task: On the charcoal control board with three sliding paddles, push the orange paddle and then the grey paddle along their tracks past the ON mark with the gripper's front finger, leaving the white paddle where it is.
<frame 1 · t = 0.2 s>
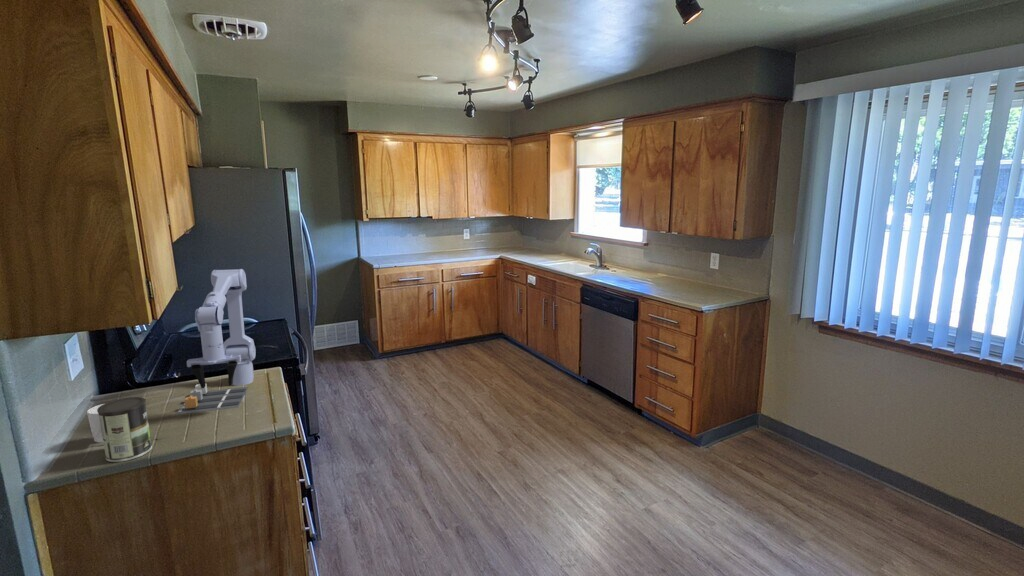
hand: (217, 385, 157), 10 cm above the countertop, tool pointing down, fingers open, 7 cm apart
paddle orange: (191, 401, 161), point 4 cm above the countertop, slide at 0.0 cm
coffee can: (129, 453, 136), on the countertop
paddle grey: (196, 394, 167), point 4 cm above the countertop, slide at 0.0 cm
paddle white: (201, 388, 172), point 4 cm above the countertop, slide at 0.0 cm
control board: (214, 403, 169), on the countertop
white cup: (110, 441, 143), on the countertop
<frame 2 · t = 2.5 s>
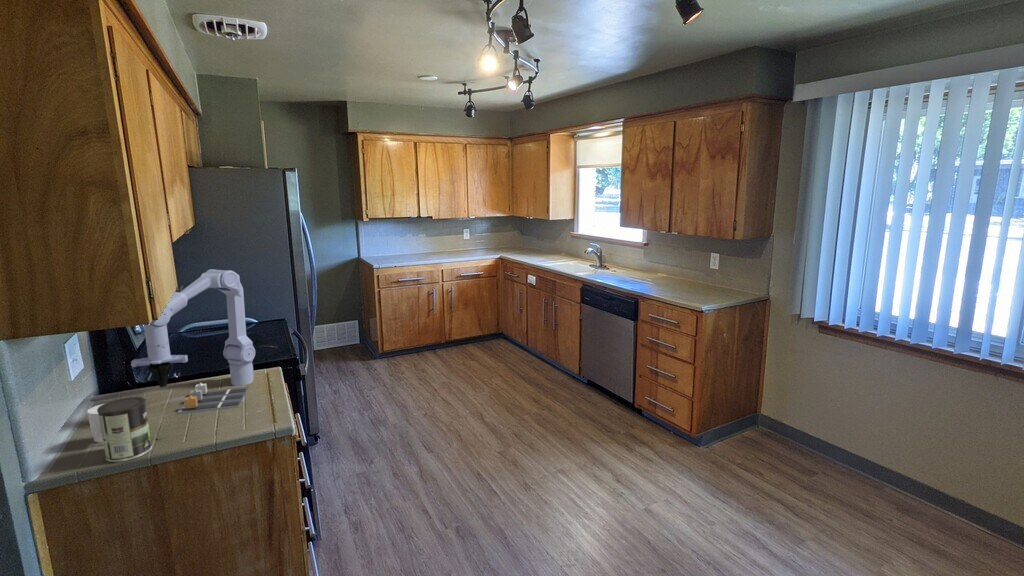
hand: (163, 385, 158), 10 cm above the countertop, tool pointing down, fingers closed
nothing on the countertop moved.
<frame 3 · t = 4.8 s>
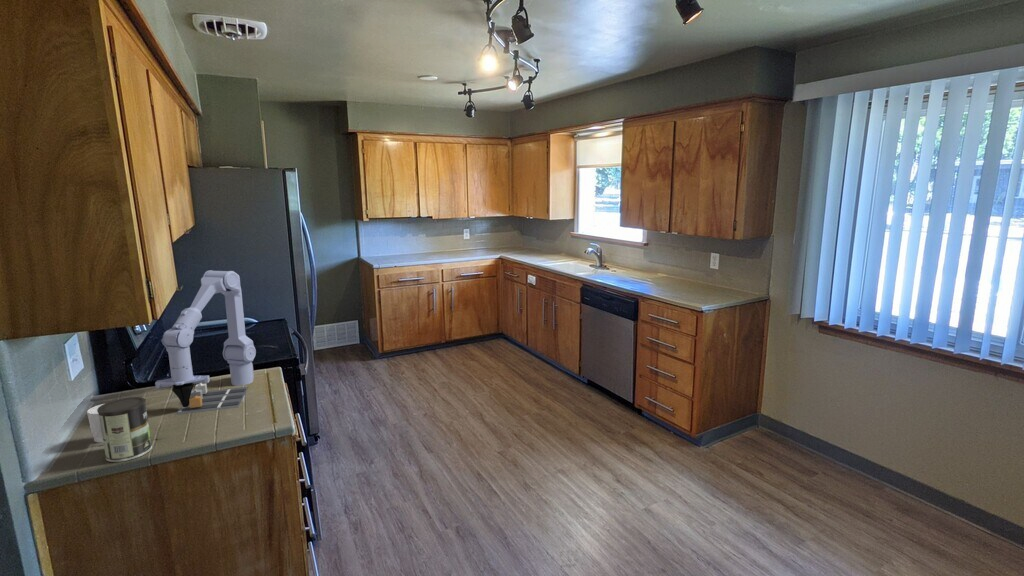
hand: (186, 405, 161), 2 cm above the countertop, tool pointing down, fingers closed
paddle orange: (195, 401, 161), point 4 cm above the countertop, slide at 1.3 cm, touching gripper
everything else where it was.
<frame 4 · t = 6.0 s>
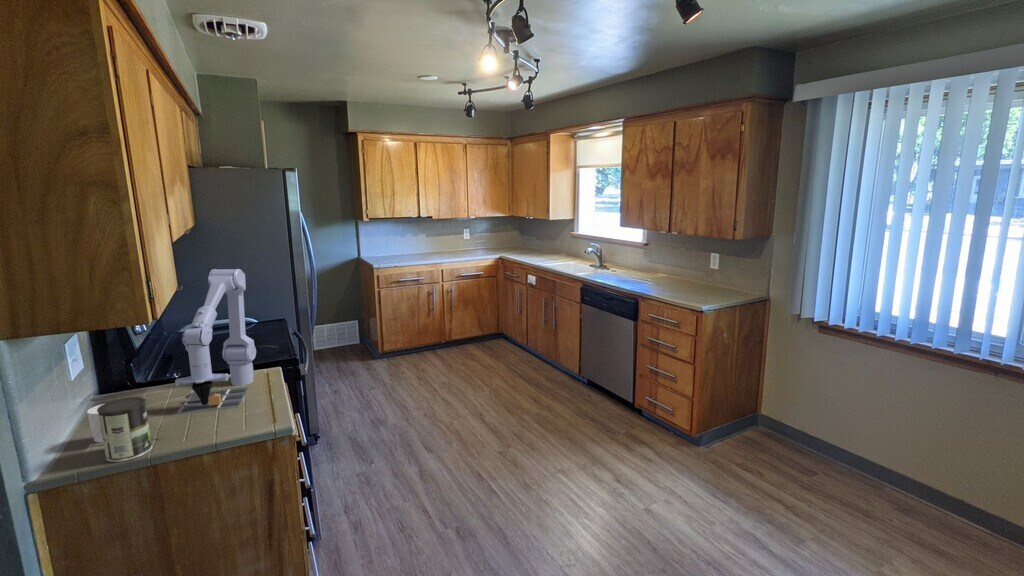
hand: (205, 403, 162), 2 cm above the countertop, tool pointing down, fingers closed
paddle orange: (214, 398, 163), point 4 cm above the countertop, slide at 6.7 cm, touching gripper
everything else where it was.
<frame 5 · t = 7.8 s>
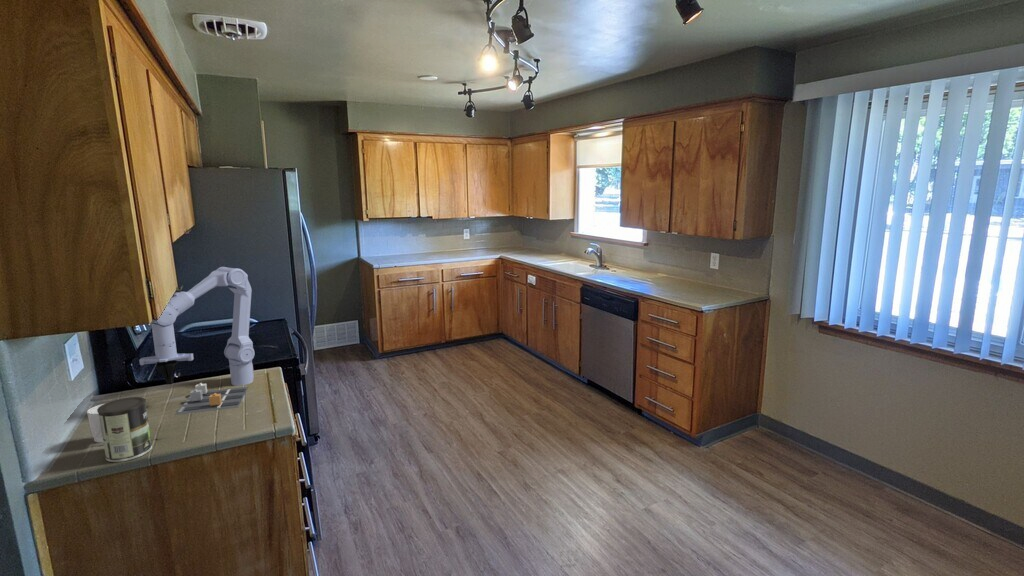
hand: (170, 383, 163), 9 cm above the countertop, tool pointing down, fingers closed
paddle orange: (215, 398, 163), point 4 cm above the countertop, slide at 6.9 cm
everything else where it was.
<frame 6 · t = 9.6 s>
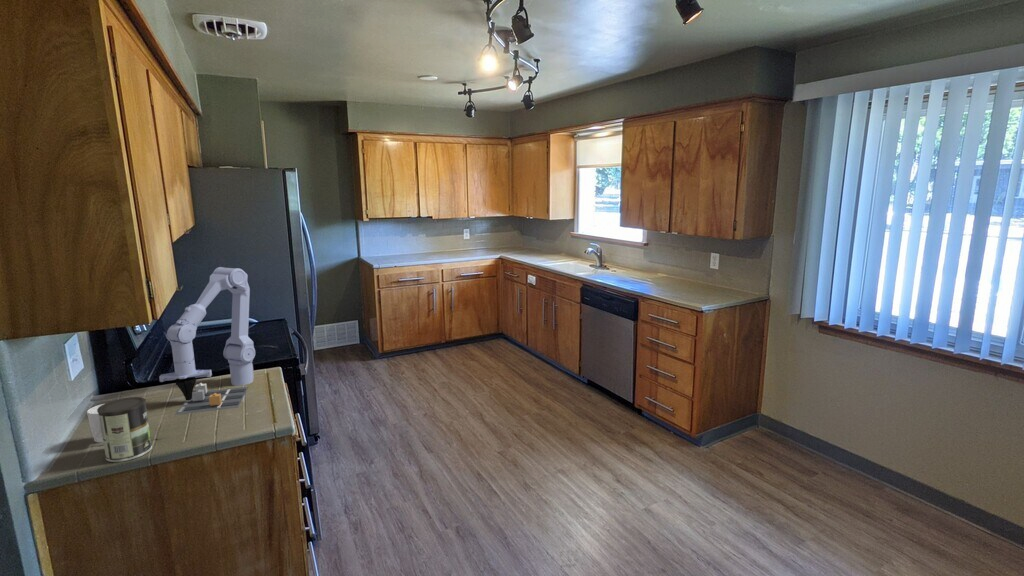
hand: (189, 399, 166), 2 cm above the countertop, tool pointing down, fingers closed
paddle grey: (198, 394, 167), point 4 cm above the countertop, slide at 0.6 cm, touching gripper
everything else where it was.
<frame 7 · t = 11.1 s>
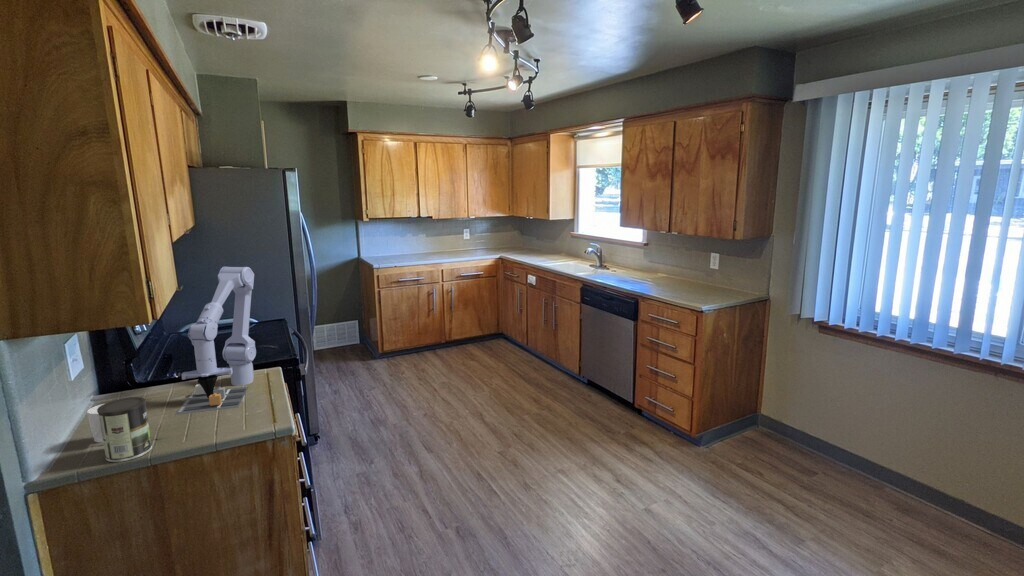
hand: (210, 396, 168), 2 cm above the countertop, tool pointing down, fingers closed
paddle grey: (219, 392, 169), point 4 cm above the countertop, slide at 6.9 cm, touching gripper
everything else where it was.
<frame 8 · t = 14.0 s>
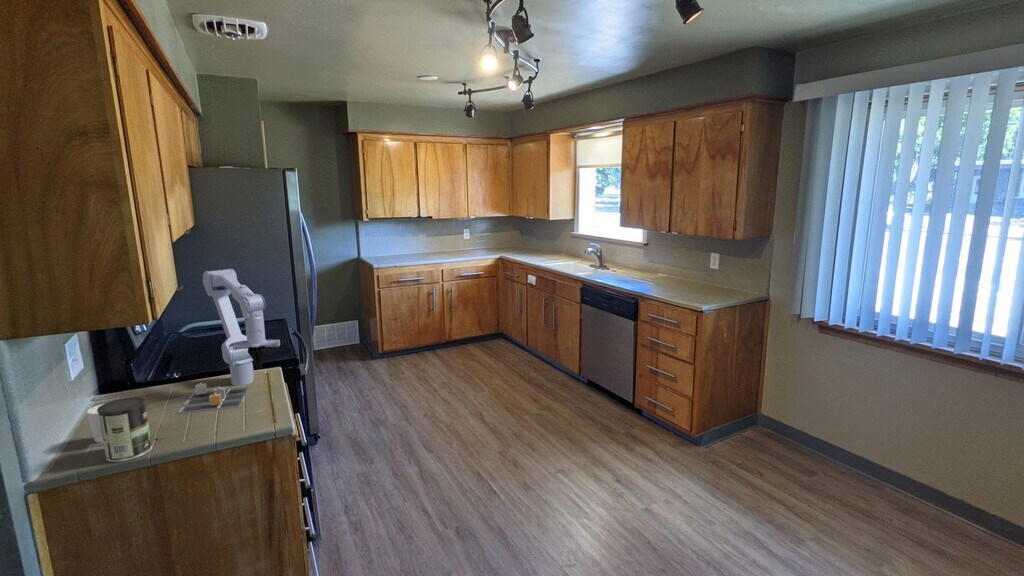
hand: (259, 367, 175), 10 cm above the countertop, tool pointing down, fingers closed
paddle grey: (219, 392, 169), point 4 cm above the countertop, slide at 6.9 cm
everything else where it was.
at the end: paddle orange slide at 6.9 cm; paddle grey slide at 6.9 cm; paddle white slide at 0.0 cm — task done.
